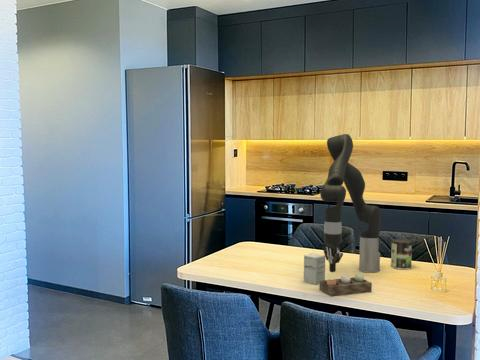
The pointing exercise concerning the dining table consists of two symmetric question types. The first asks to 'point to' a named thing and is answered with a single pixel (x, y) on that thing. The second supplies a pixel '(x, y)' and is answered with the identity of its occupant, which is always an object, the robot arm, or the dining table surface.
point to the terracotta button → (331, 282)
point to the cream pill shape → (345, 279)
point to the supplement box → (314, 268)
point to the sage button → (359, 277)
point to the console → (345, 287)
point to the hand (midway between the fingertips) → (332, 271)
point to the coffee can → (401, 254)
